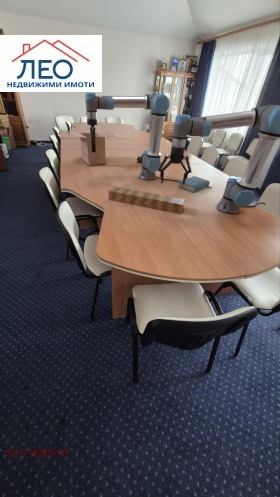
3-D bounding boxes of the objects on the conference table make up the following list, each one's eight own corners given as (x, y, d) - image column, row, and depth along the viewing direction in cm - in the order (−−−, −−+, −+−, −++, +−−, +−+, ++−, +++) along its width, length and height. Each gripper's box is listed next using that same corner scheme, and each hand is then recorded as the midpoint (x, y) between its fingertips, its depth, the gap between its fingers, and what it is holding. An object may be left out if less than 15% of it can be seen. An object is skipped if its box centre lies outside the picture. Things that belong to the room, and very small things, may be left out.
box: (116, 165, 229) (116, 136, 213) (83, 168, 214) (80, 137, 198) (102, 154, 259) (101, 128, 243) (71, 156, 244) (68, 129, 228)
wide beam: (108, 199, 162) (108, 190, 158) (114, 194, 169) (114, 186, 166) (181, 213, 150) (182, 204, 146) (183, 207, 158) (185, 199, 154)
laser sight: (156, 165, 237) (157, 156, 231) (135, 163, 240) (136, 153, 234) (157, 163, 245) (158, 153, 239) (137, 161, 248) (138, 151, 242)
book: (193, 181, 204) (194, 176, 201) (208, 186, 195) (209, 181, 192) (178, 186, 191) (179, 181, 188) (193, 192, 182) (195, 186, 179)
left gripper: (87, 116, 168) (89, 146, 180) (86, 120, 148) (88, 154, 161) (97, 116, 169) (98, 146, 181) (97, 121, 149) (99, 154, 162)
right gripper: (157, 146, 120) (153, 184, 133) (201, 149, 122) (193, 186, 135) (155, 143, 126) (152, 180, 139) (198, 146, 128) (190, 182, 141)
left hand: (93, 150), depth 171 cm, fingers open, 13 cm apart
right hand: (172, 183), depth 137 cm, fingers open, 13 cm apart
